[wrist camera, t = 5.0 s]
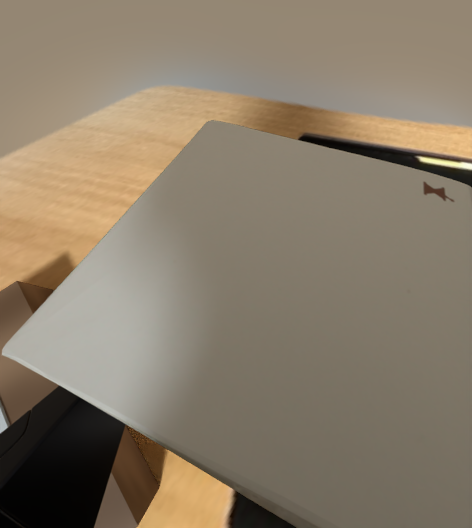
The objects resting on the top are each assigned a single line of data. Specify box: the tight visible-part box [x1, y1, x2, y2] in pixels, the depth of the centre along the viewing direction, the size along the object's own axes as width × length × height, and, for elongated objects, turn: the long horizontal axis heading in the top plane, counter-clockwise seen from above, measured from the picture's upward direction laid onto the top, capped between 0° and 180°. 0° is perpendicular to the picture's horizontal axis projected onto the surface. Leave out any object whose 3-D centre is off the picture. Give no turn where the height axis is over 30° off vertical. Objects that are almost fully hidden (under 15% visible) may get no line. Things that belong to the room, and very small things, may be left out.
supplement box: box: [2, 120, 472, 528], centre depth 10 cm, size 7×7×13 cm
